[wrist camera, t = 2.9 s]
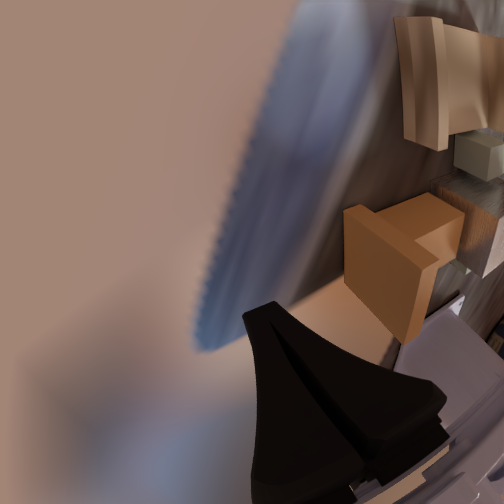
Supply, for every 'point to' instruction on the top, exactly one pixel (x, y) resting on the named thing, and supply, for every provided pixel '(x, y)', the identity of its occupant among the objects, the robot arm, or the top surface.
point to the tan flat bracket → (448, 80)
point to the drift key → (399, 258)
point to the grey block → (476, 218)
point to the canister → (498, 340)
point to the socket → (478, 162)
